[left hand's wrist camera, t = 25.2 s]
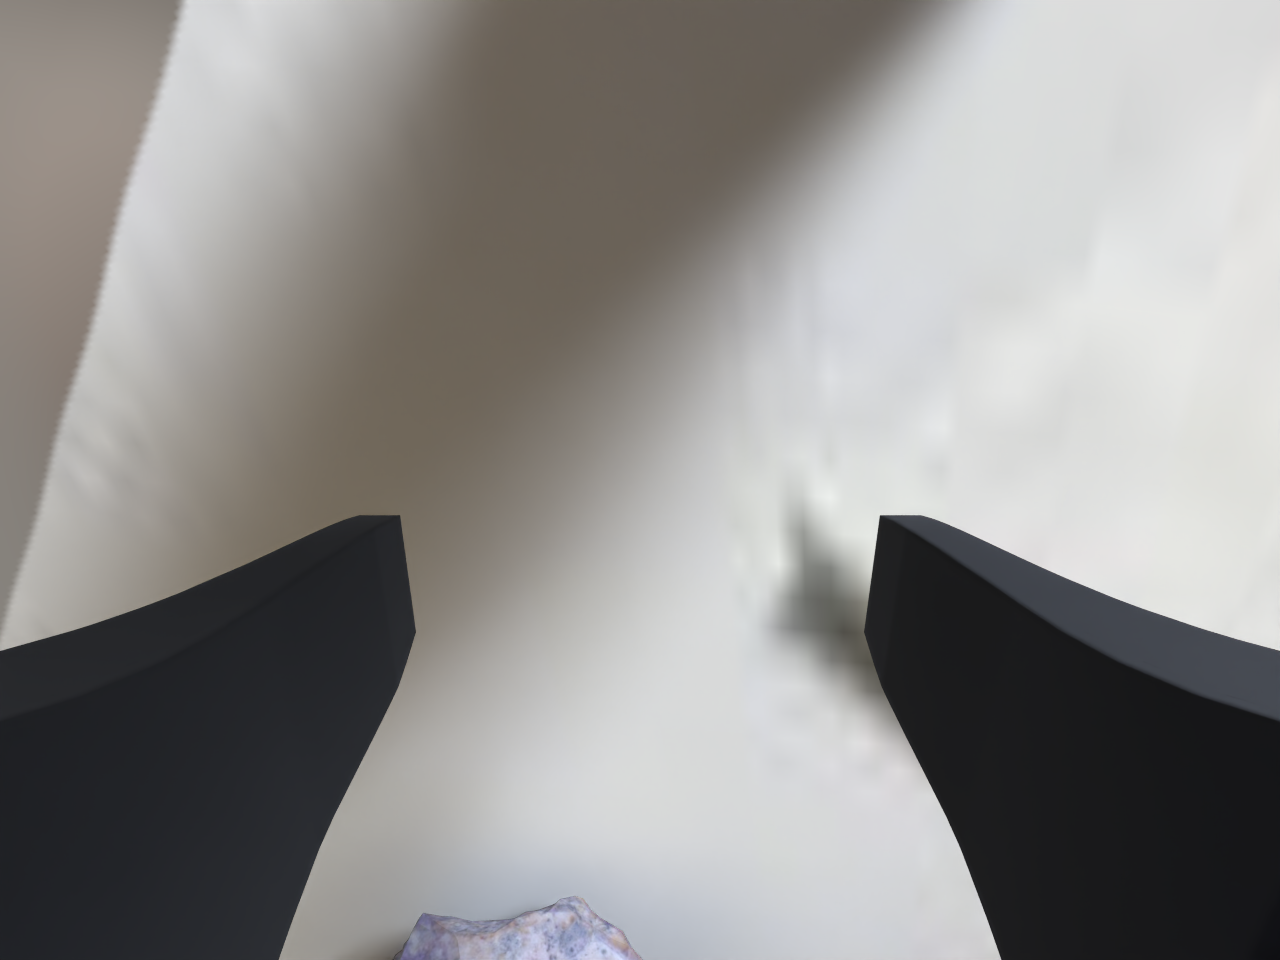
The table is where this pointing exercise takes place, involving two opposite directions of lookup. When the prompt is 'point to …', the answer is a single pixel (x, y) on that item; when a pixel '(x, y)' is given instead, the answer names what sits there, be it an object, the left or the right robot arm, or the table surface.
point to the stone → (520, 937)
